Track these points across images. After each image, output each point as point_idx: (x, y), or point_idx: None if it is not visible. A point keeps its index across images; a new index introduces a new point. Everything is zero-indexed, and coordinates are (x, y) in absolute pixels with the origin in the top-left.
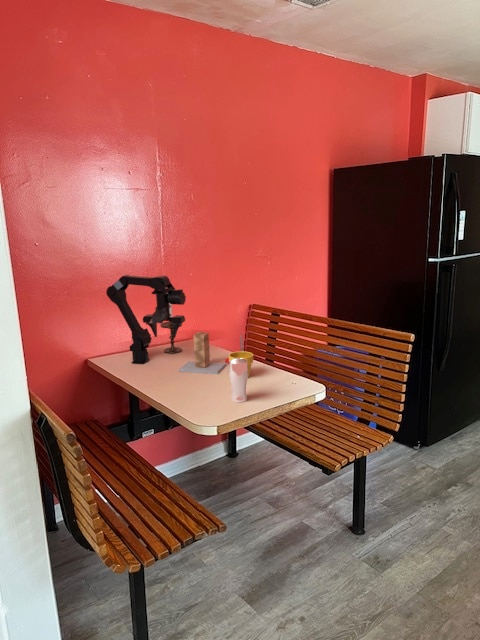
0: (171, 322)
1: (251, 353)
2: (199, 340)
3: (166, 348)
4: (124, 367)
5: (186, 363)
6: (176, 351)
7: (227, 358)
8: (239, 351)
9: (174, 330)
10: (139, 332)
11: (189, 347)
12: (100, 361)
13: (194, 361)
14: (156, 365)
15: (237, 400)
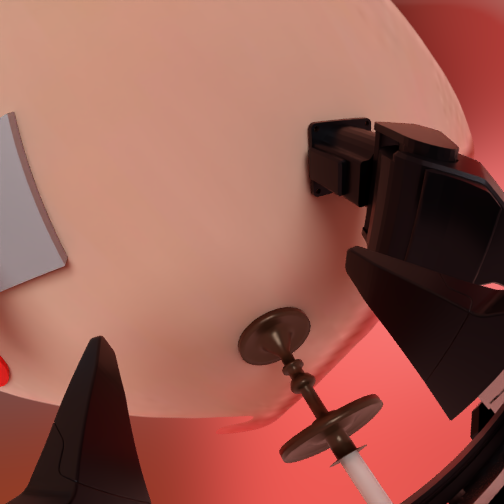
0: (336, 443)
1: None
2: None
3: (307, 334)
4: (365, 55)
5: (41, 224)
6: (249, 337)
7: (2, 367)
8: None
9: (58, 435)
10: (494, 197)
11: (239, 384)
12: (453, 119)
13: (36, 274)
14: (223, 132)
15: None
